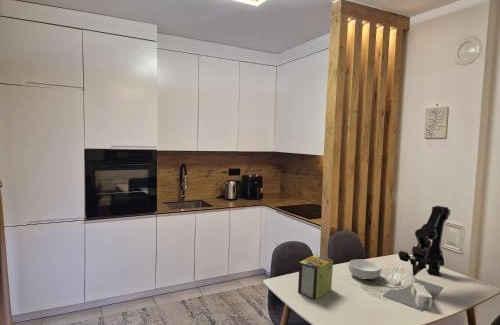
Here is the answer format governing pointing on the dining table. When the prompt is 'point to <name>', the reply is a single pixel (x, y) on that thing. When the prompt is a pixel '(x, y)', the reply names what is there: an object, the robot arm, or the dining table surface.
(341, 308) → the dining table surface
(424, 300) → the syrup box
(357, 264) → the cereal bowl
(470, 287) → the dining table surface
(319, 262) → the protein box
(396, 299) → the rubber mat
